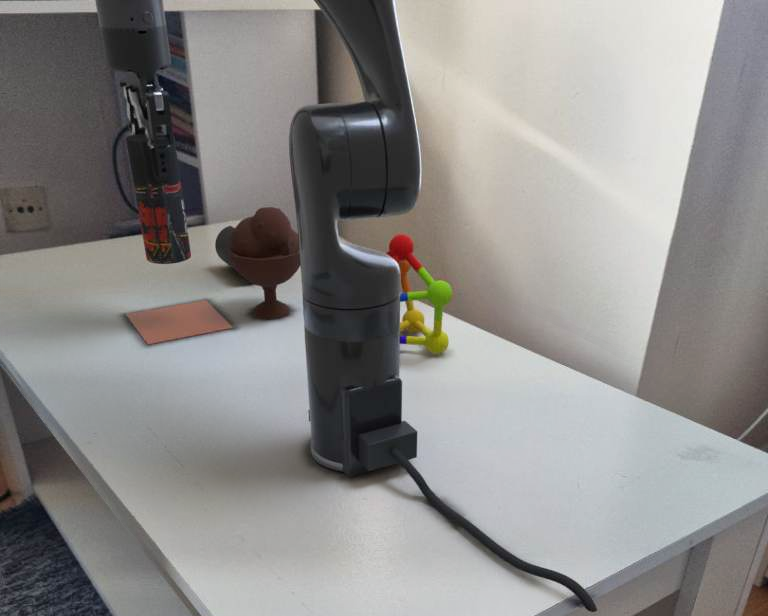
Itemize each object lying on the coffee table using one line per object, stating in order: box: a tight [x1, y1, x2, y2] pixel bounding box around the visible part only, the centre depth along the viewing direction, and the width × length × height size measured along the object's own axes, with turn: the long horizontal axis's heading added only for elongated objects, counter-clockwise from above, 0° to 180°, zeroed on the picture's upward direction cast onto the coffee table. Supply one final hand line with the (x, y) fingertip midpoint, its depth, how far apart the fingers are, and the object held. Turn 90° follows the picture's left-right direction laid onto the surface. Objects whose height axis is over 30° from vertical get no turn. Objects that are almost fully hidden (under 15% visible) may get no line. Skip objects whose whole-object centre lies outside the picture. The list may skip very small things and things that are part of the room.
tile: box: [125, 299, 234, 346], centre depth 115 cm, size 12×12×1 cm
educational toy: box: [384, 233, 453, 355], centre depth 103 cm, size 16×13×15 cm
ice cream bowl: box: [226, 206, 301, 320], centre depth 113 cm, size 11×11×15 cm
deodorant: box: [125, 132, 192, 265], centre depth 105 cm, size 6×6×15 cm
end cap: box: [214, 225, 236, 270], centre depth 129 cm, size 10×7×7 cm
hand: (156, 174), depth 103 cm, fingers closed on deodorant, 6 cm apart
